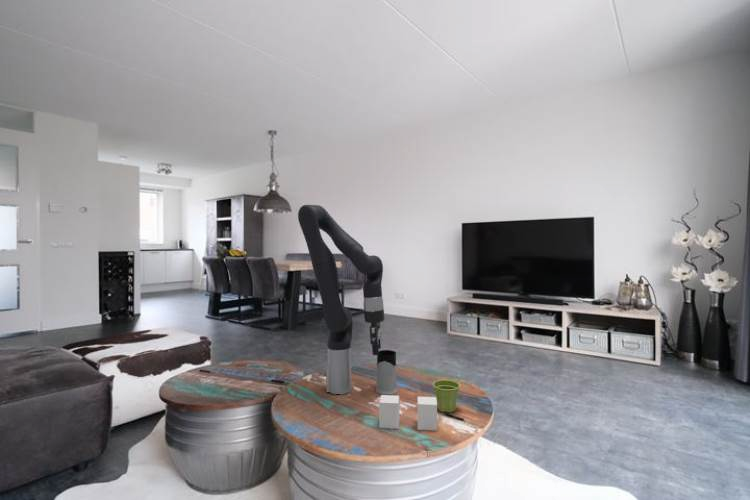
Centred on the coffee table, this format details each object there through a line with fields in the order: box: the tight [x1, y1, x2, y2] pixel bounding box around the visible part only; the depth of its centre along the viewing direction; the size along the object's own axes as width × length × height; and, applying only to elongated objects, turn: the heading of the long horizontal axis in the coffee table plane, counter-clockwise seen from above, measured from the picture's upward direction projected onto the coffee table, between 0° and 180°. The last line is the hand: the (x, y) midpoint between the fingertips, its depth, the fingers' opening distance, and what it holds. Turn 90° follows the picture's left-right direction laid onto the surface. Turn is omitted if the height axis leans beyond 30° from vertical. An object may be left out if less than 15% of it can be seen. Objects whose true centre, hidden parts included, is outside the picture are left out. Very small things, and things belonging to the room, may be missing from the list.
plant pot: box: [432, 379, 461, 413], centre depth 131 cm, size 9×9×9 cm
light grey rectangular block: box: [417, 396, 438, 432], centre depth 119 cm, size 6×6×8 cm
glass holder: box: [375, 349, 398, 395], centre depth 152 cm, size 9×14×15 cm, turn 166°
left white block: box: [378, 394, 400, 430], centre depth 121 cm, size 6×6×8 cm
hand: (376, 351), depth 141 cm, fingers open, 8 cm apart
